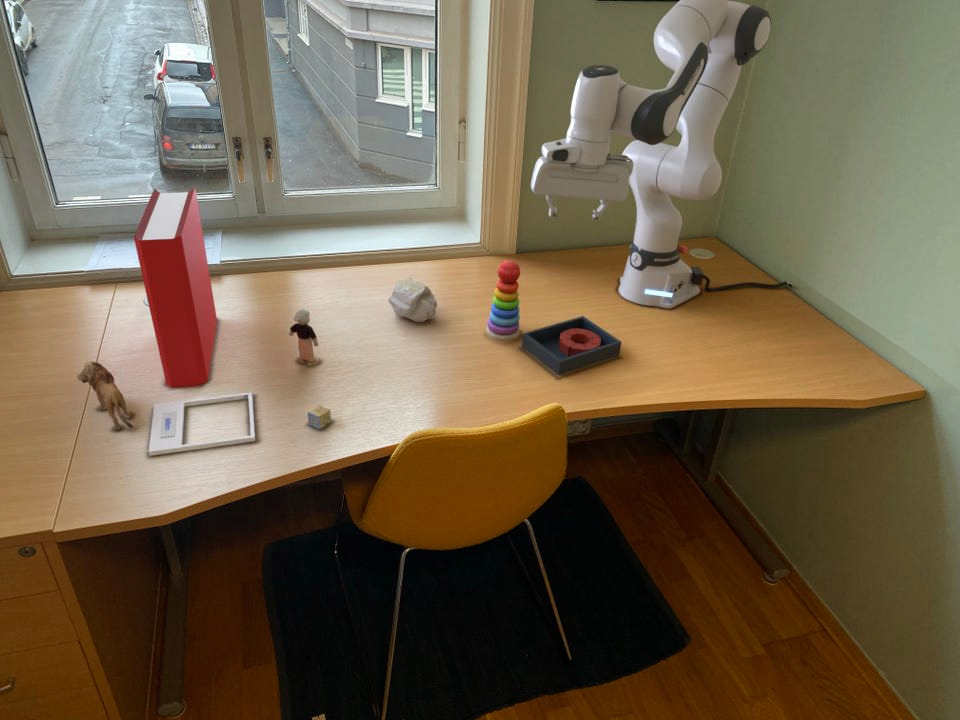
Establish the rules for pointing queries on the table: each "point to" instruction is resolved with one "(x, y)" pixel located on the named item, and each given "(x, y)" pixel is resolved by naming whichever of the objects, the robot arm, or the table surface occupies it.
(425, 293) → the white rock
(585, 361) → the tray
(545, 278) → the table surface
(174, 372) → the book
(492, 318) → the stacking toy
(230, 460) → the table surface
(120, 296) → the table surface
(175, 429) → the photo frame
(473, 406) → the table surface
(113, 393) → the lion figurine
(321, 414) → the alphabet block
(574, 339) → the ring
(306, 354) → the grandmother figurine
